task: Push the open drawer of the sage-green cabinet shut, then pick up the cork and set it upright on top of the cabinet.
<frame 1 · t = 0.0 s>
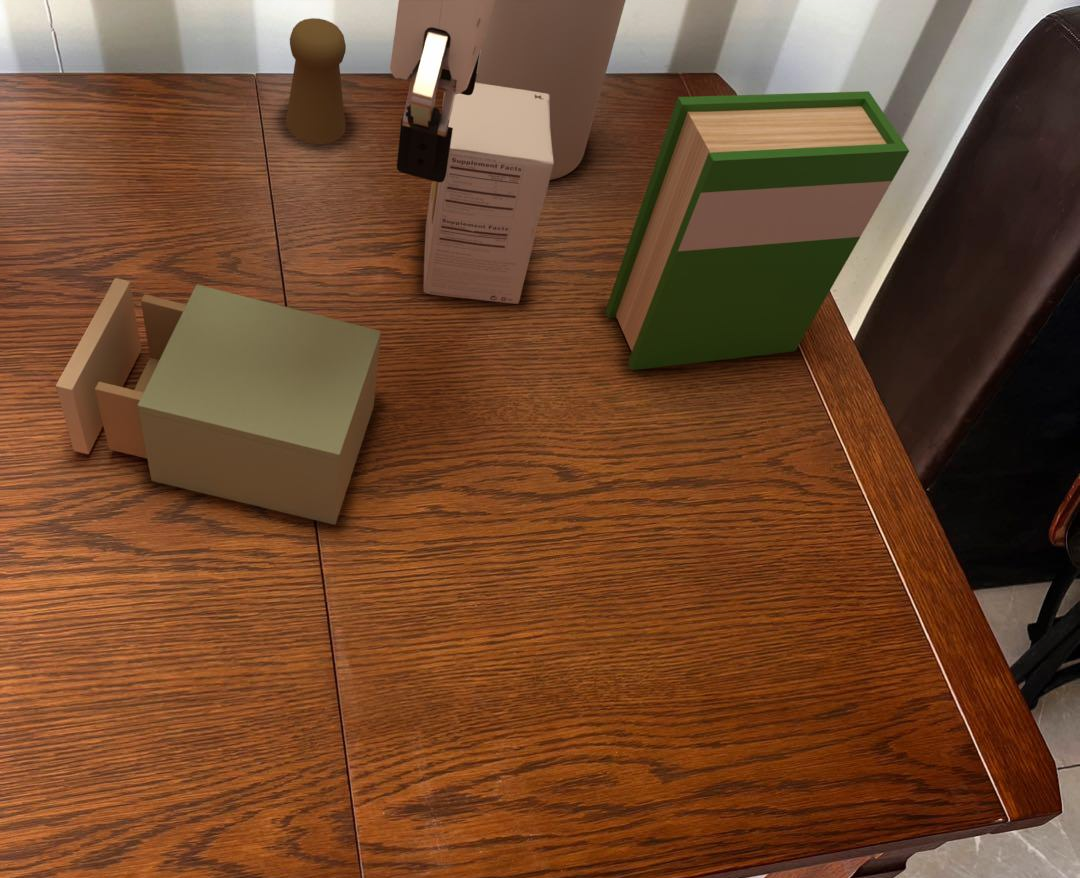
hand: (436, 130, 74), 26 cm above the table, tool pointing down, fingers open, 9 cm apart
cylinder vase: (525, 146, 116), on the table
hardback book: (699, 335, 105), on the table
supplement box: (470, 268, 104), on the table
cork: (315, 128, 111), on the table
drawer: (173, 383, 84), point 5 cm above the table, slide at 5.0 cm
cabinet: (267, 443, 89), on the table
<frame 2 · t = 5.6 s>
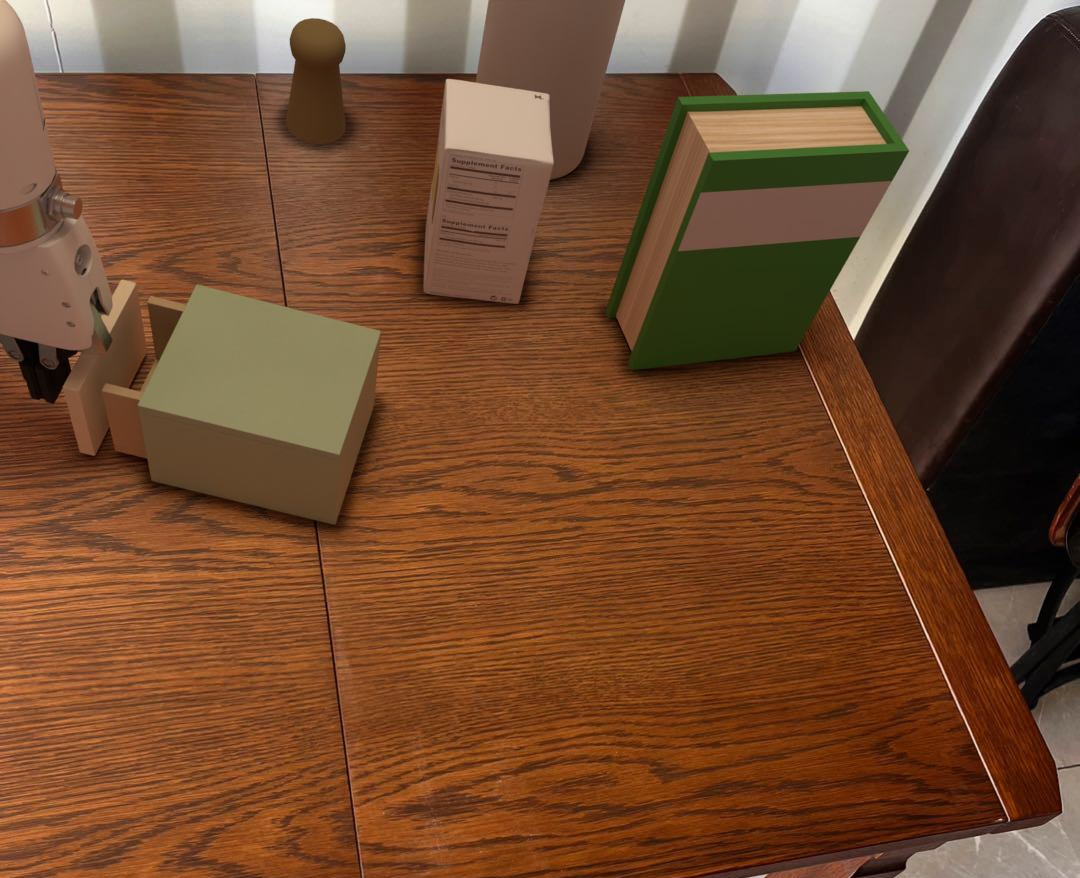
hand: (51, 387, 82), 5 cm above the table, tool pointing down, fingers closed
drawer: (179, 385, 84), point 5 cm above the table, slide at 4.5 cm, touching gripper
everything else where it was.
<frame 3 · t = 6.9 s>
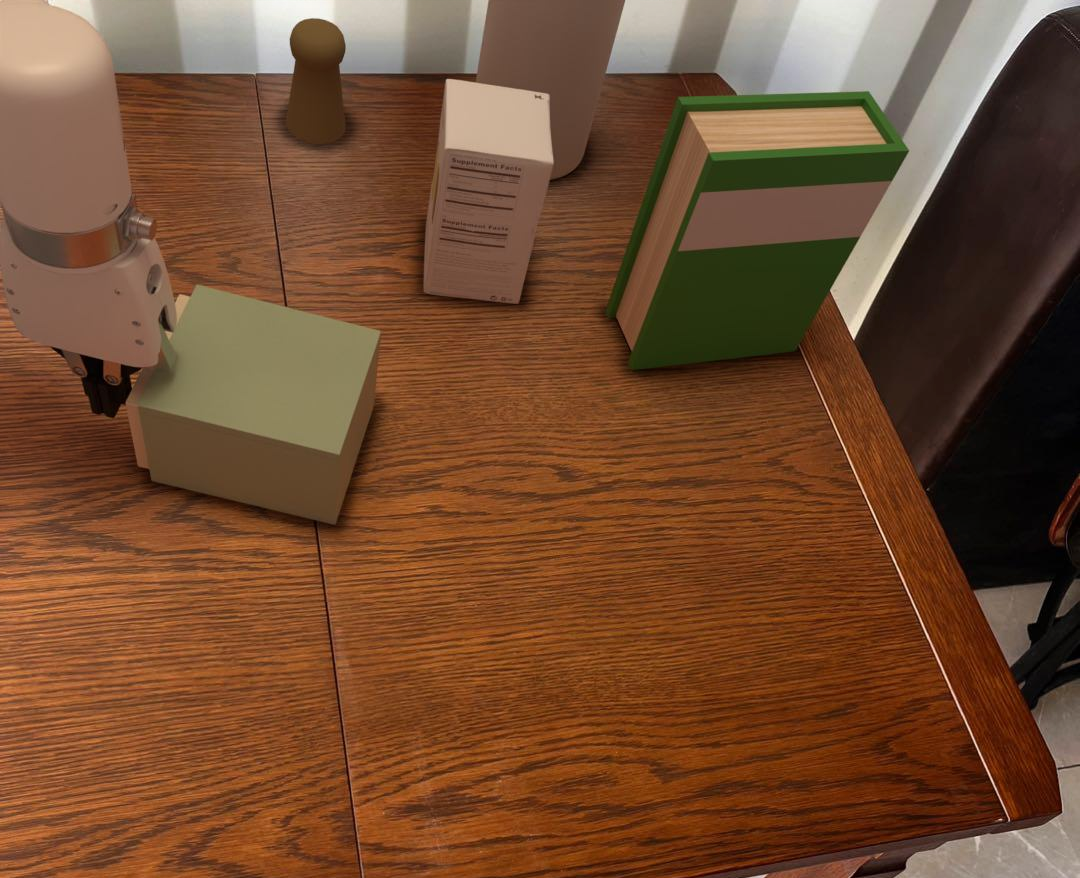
hand: (110, 401, 82), 5 cm above the table, tool pointing down, fingers closed
drawer: (236, 399, 85), point 5 cm above the table, slide at 0.0 cm, touching cabinet, gripper
everything else where it was.
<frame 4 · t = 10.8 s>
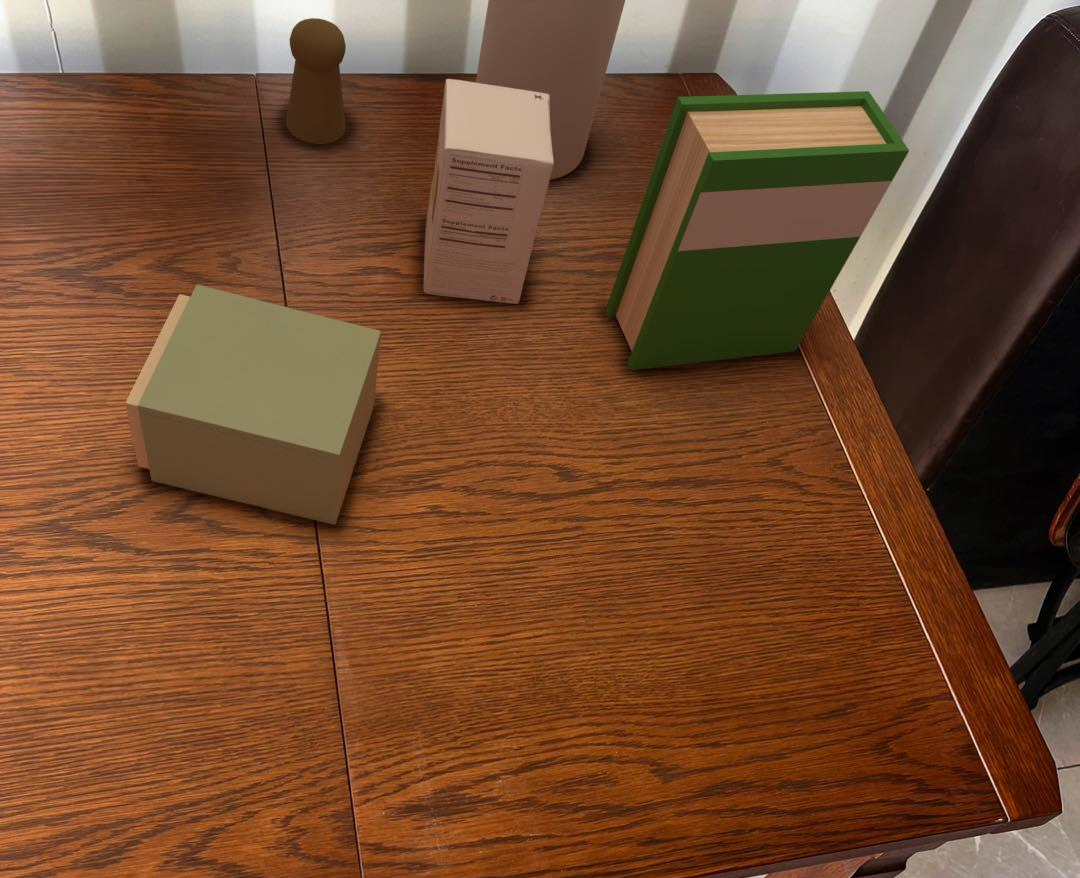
drawer: (236, 399, 85), point 5 cm above the table, slide at 0.0 cm, touching cabinet
everything else where it was.
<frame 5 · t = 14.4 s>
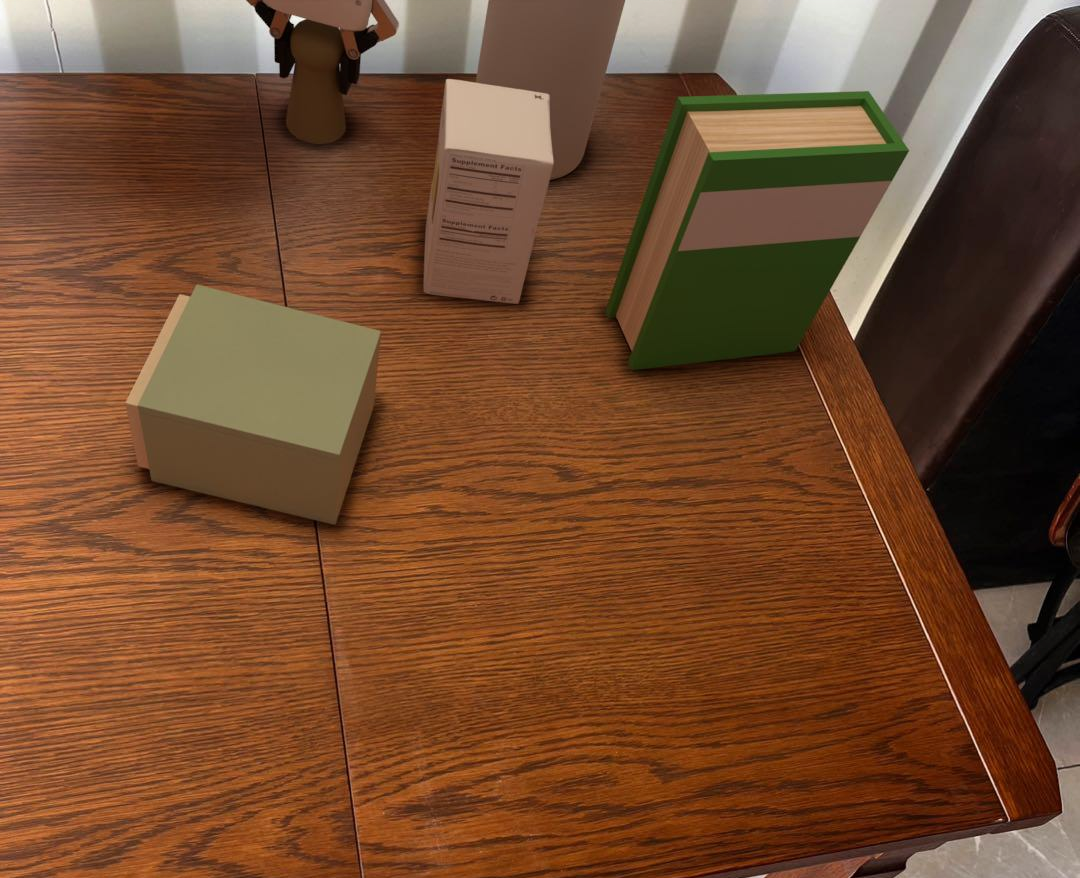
hand: (317, 76, 106), 6 cm above the table, tool pointing down, fingers closed on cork, 5 cm apart
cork: (315, 128, 111), on the table, touching gripper
everything else where it was.
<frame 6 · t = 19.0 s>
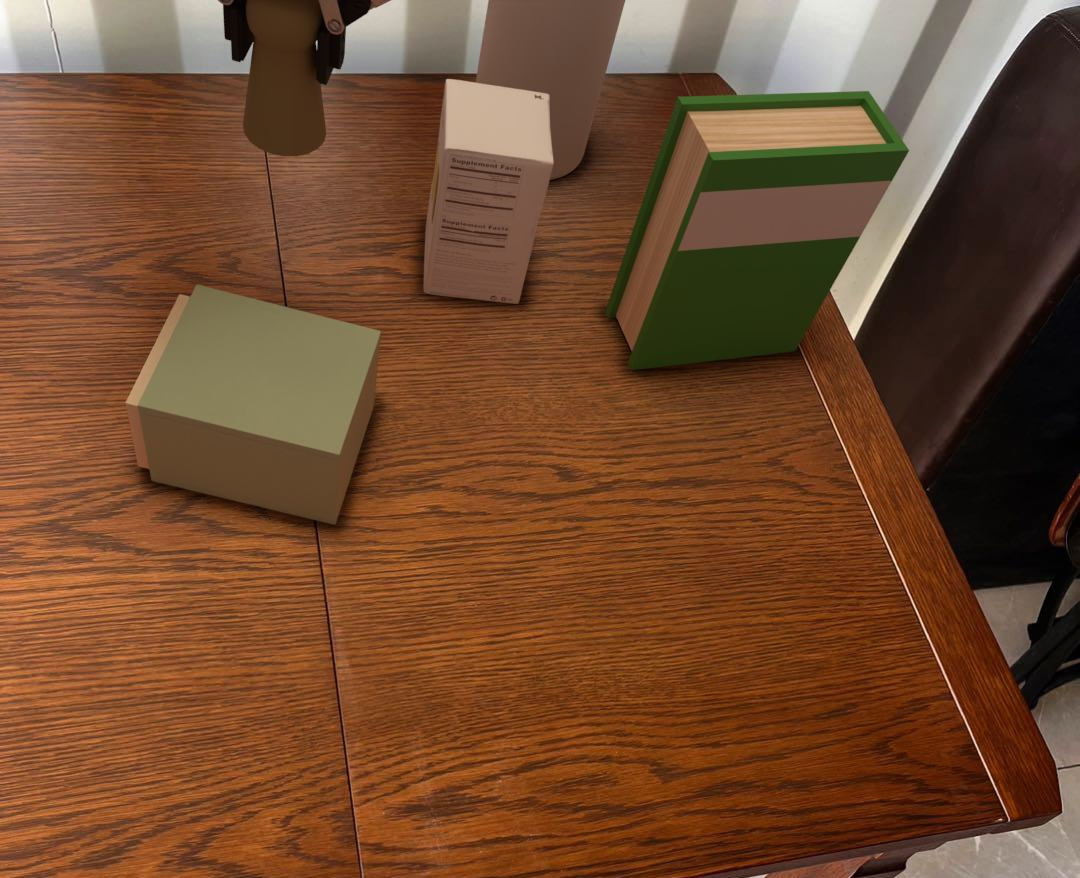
hand: (285, 59, 76), 25 cm above the table, tool pointing down, fingers closed on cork, 5 cm apart
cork: (284, 131, 81), point 19 cm above the table, touching gripper
everything else where it was.
when the fingers open (15 cm above the table, at t = 23.6 s): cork stays where it is, resting on cabinet.
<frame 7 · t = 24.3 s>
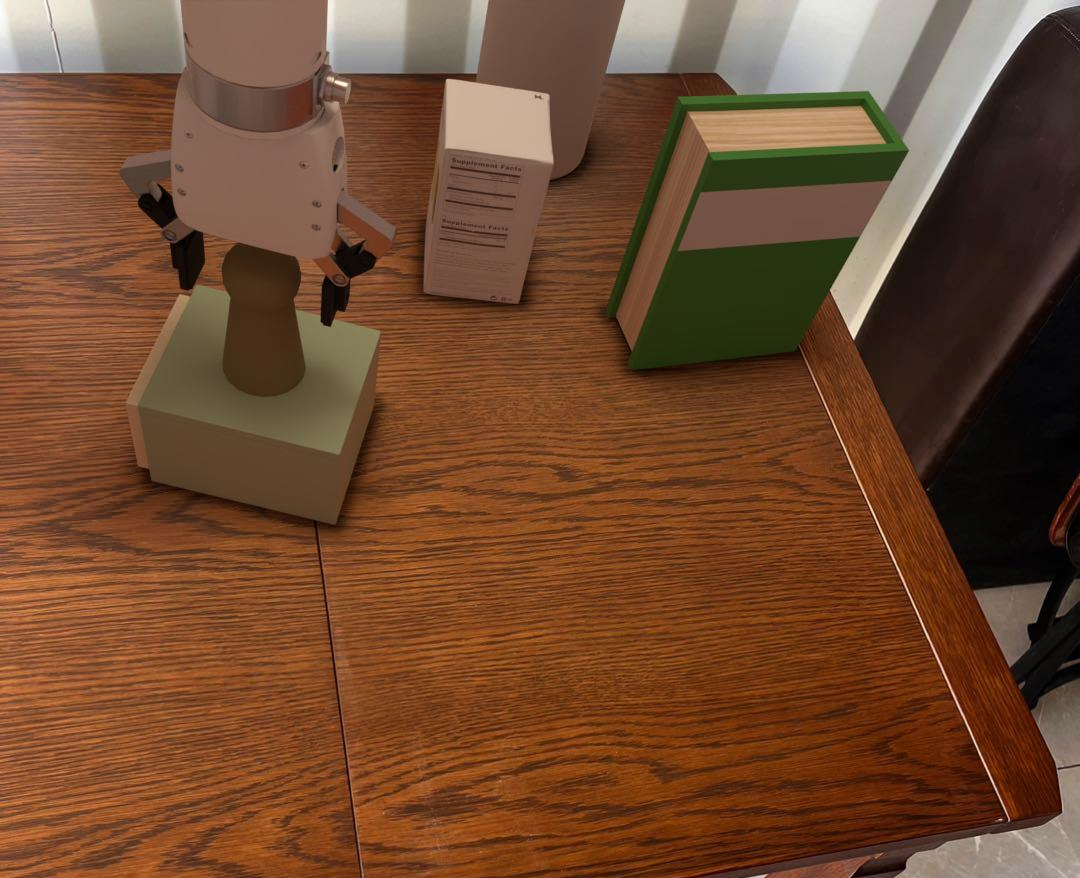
hand: (262, 294, 75), 17 cm above the table, tool pointing down, fingers open, 9 cm apart
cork: (264, 367, 81), point 9 cm above the table, touching cabinet
everything else where it was.
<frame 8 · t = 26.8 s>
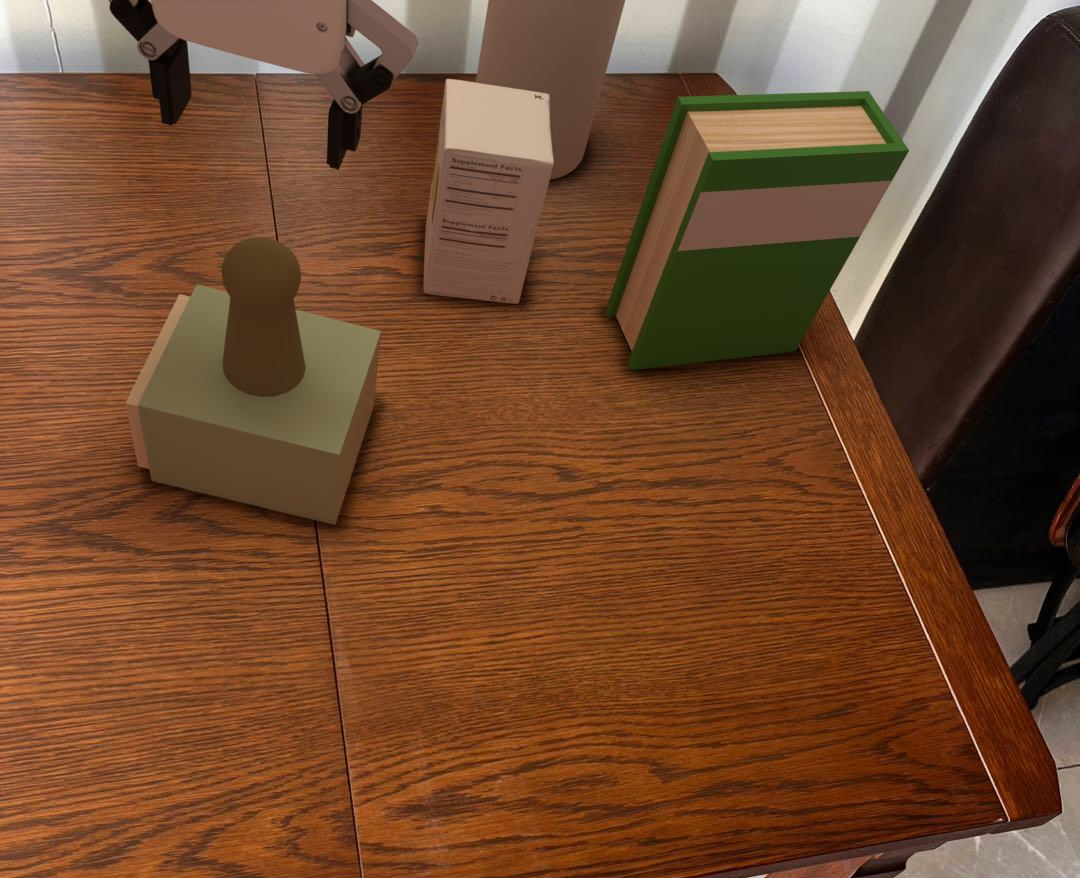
hand: (258, 132, 64), 30 cm above the table, tool pointing down, fingers open, 9 cm apart
nothing on the table moved.
at the end: drawer slide at 0.0 cm; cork inside the target area on the cabinet (0.1 cm from its centre), point 9.4 cm above the cabinet's base; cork tilted 0° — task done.
